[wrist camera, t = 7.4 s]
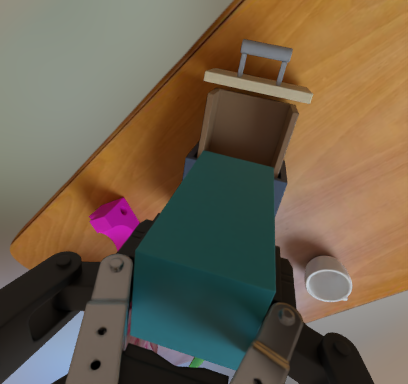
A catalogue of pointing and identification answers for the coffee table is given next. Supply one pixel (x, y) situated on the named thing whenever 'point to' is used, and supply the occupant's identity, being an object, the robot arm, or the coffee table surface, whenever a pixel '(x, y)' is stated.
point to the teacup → (327, 279)
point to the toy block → (115, 221)
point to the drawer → (251, 111)
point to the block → (209, 262)
